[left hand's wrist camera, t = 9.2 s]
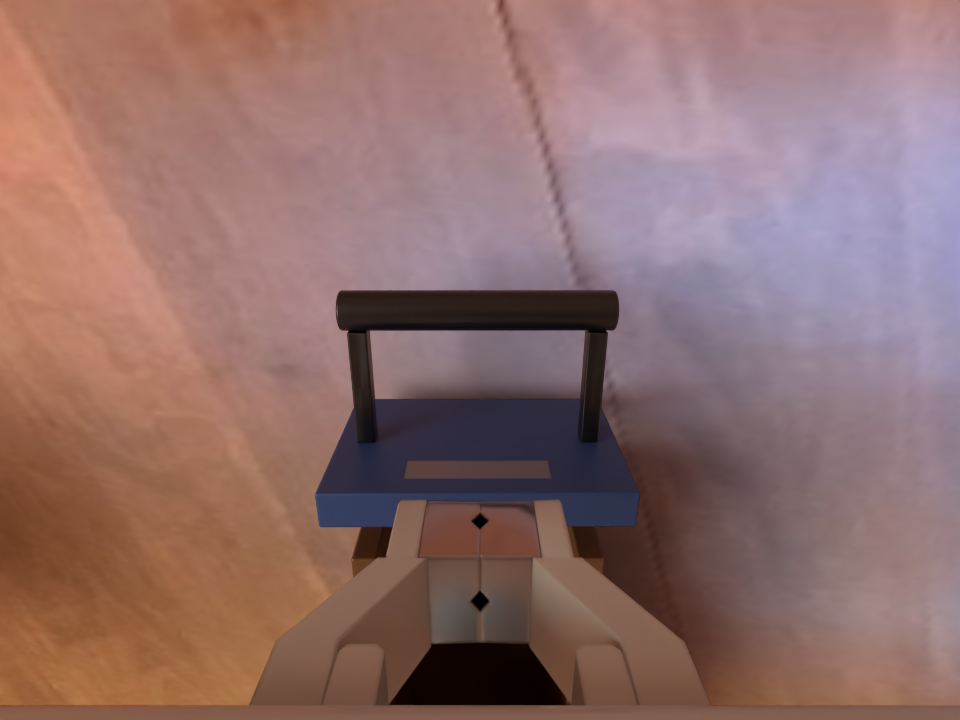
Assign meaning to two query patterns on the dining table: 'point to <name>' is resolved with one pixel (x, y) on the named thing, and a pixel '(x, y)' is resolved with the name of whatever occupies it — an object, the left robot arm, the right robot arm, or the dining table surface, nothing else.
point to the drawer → (477, 461)
